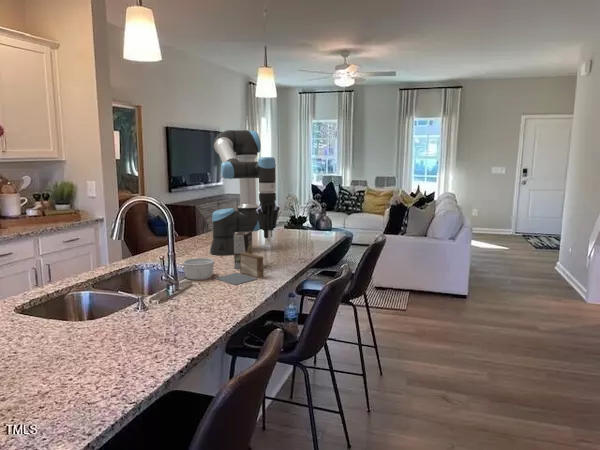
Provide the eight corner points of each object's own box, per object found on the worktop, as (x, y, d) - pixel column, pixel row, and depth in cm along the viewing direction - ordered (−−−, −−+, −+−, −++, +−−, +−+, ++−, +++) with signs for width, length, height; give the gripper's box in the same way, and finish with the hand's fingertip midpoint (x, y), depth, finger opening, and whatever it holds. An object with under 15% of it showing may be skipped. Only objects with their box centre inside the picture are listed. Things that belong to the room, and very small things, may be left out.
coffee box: (247, 269, 206) (246, 234, 203) (234, 268, 207) (233, 234, 205) (253, 264, 215) (252, 231, 212) (240, 263, 216) (239, 231, 213)
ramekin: (204, 270, 204) (203, 256, 203) (220, 276, 194) (220, 260, 193) (177, 276, 195) (177, 261, 193) (194, 282, 185) (193, 266, 184)
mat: (237, 273, 199) (237, 272, 199) (257, 279, 190) (257, 278, 190) (215, 278, 191) (214, 277, 191) (235, 285, 181) (235, 284, 181)
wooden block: (245, 272, 202) (245, 252, 200) (263, 277, 193) (263, 256, 192) (240, 273, 199) (239, 253, 198) (258, 278, 191) (257, 258, 190)
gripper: (261, 193, 191) (263, 247, 194) (283, 191, 200) (284, 243, 203) (250, 192, 196) (251, 245, 199) (272, 191, 205) (273, 241, 208)
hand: (268, 244), depth 201 cm, fingers closed
